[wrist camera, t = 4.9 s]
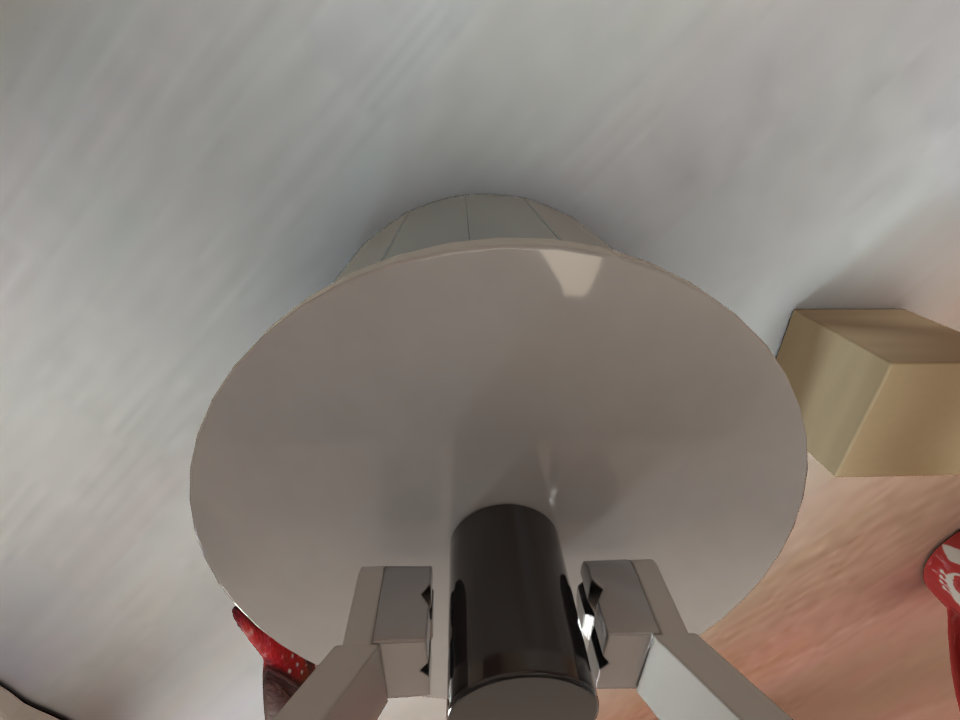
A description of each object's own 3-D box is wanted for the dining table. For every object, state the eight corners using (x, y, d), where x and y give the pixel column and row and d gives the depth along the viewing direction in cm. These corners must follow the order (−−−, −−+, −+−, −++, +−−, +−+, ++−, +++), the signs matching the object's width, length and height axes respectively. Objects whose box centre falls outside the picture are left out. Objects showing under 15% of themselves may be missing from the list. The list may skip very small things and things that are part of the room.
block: (758, 406, 22) (834, 478, 17) (793, 308, 19) (892, 363, 15) (857, 405, 22) (959, 476, 17) (904, 308, 20) (1034, 362, 15)
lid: (190, 615, 13) (64, 845, 9) (264, 102, 7) (2, 75, 3) (608, 688, 16) (661, 888, 12) (904, 360, 10) (1220, 527, 6)
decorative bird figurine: (329, 685, 31) (279, 907, 22) (257, 495, 23) (132, 728, 14) (371, 682, 31) (337, 902, 22) (314, 491, 23) (225, 721, 14)
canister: (302, 428, 21) (198, 629, 13) (374, 135, 16) (276, 148, 7) (554, 495, 24) (607, 698, 15) (693, 265, 18) (894, 385, 10)
